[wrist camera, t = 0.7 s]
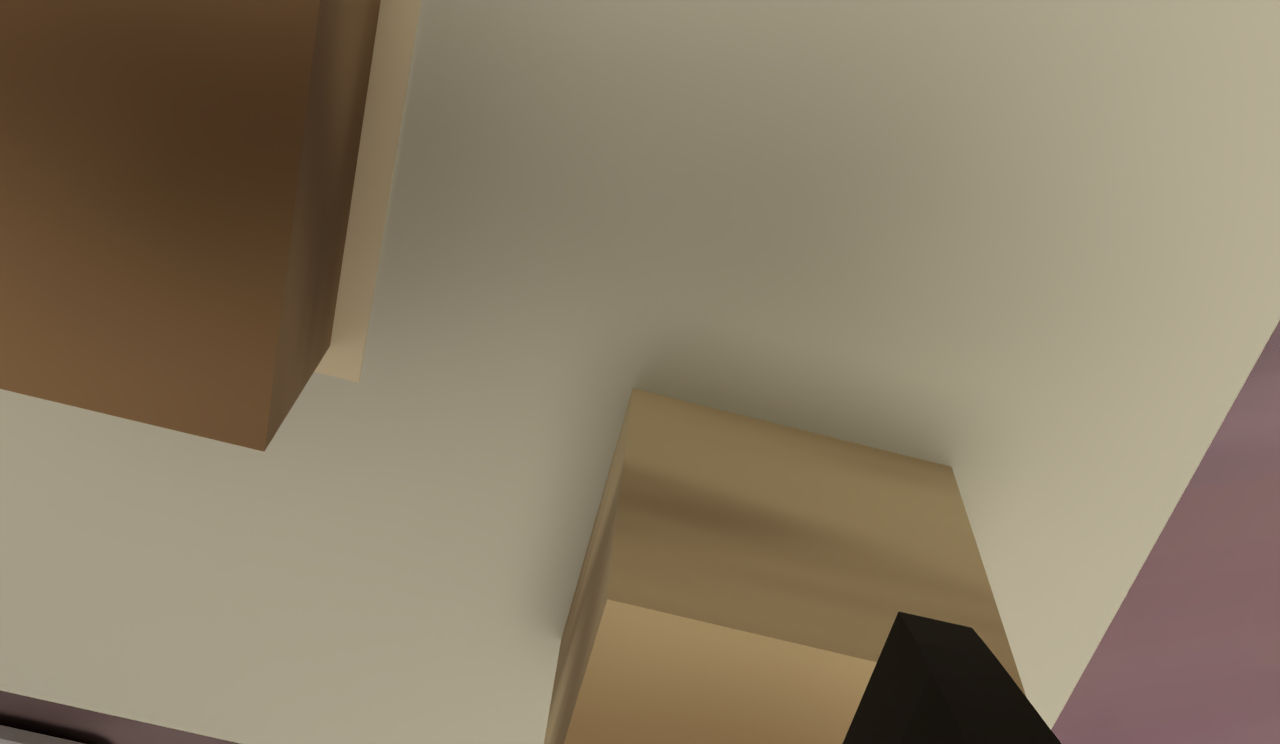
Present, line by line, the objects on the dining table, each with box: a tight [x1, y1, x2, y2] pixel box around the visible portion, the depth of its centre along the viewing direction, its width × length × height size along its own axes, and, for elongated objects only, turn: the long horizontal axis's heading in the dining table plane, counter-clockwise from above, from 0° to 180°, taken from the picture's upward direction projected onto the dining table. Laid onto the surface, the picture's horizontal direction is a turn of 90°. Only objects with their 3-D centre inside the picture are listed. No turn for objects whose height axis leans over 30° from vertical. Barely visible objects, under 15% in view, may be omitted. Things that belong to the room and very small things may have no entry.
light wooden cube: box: [544, 388, 1026, 744], centre depth 17 cm, size 5×5×5 cm
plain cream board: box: [0, 0, 1280, 744], centre depth 18 cm, size 19×22×1 cm
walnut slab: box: [0, 0, 381, 451], centre depth 15 cm, size 8×8×3 cm
